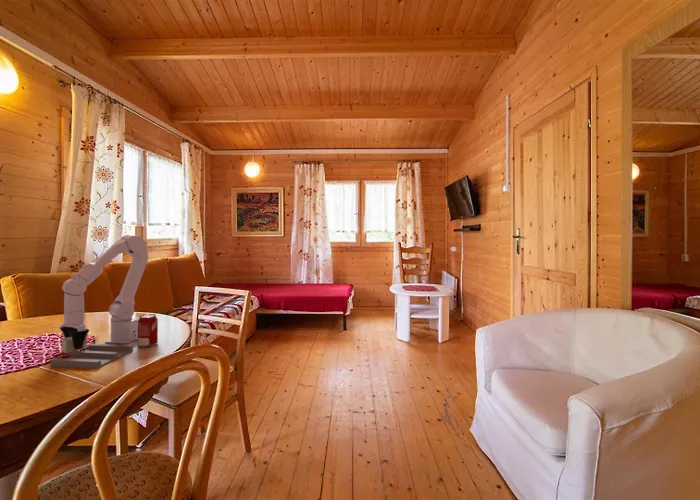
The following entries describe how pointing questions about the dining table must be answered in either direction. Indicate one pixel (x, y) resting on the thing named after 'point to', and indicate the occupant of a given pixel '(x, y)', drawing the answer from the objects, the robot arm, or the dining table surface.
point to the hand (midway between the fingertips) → (74, 346)
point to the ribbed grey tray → (93, 356)
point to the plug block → (70, 345)
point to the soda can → (147, 330)
